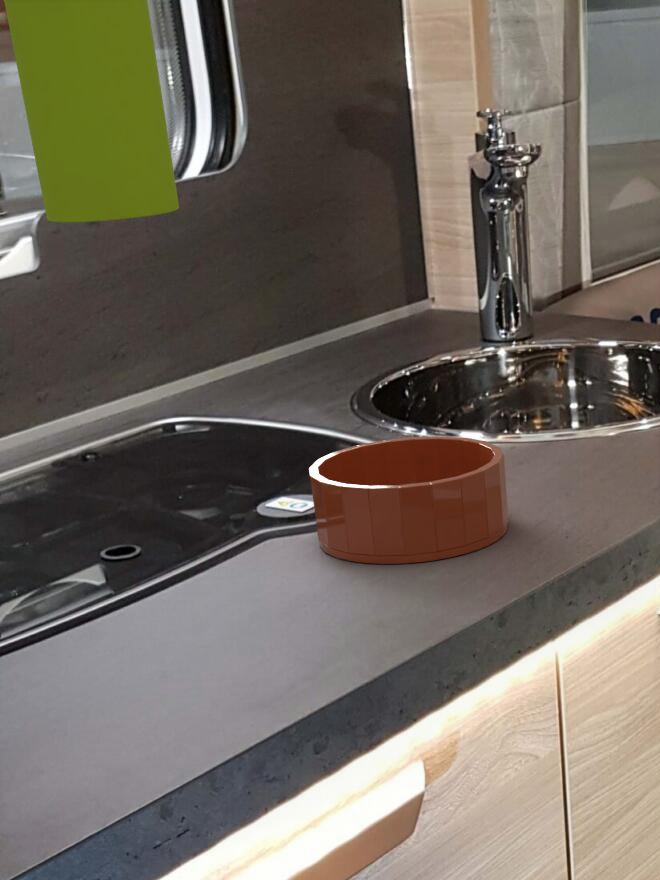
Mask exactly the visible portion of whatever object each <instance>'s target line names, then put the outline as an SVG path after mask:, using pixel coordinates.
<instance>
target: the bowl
mask: <svg viewBox="0 0 660 880" xmlns="http://www.w3.org/2000/svg"><path fill="white" fill-rule="evenodd" d="M505 465H506V464H505V455H504V453H503V451H502V448H500V446H497V445H495V444H493V443H491V442H489V441H487V440H482V439H481V440H480V439H475V438H469V437H463V436H462V437H460V436H444V435H442V436H441V435H436V436H435V435H433V436H413V437H411V436H410V437H409V436H408V437H400V438H392V439H390V438H389V439H384V440H383V439H382V440H377V441H372V442H366V443H361V444H357V445H353V446H350V447H346V448H343V449H339V450H336V451H333V452H331V453H329V454H326V455H324V456H322V457H320V458H318V459H317V460H316V461H314V462H313V463H312V465H310V466H309V468H308V473H309V479H310V487H311V494H312V502H313V510H314V516H315V524H316V532H317V537H318V538H317V539H318V545H319V547H320V549H321V550H322V551H323V552H324V553H326V554H328V555H330V556H331V557H334V558H336V559H340V560H344V561H349V562H354V563H363V564H374V565H375V564H376V565H401V564H403V565H404V564H417V563H424V562H432V561H433V562H434V561H439V560H445V559H450V558H454V557H459V556H462V555H465V554H469V553H472V552H476V551H478V550H481V549H483V548H486V547H488V546H490V545H492V544H494V543H495V542H497V541H499V540H501V538H502V537H504V536H505V534H506V533H507V530H508V527H509V526H508V520H509V512H508V509H509V508H508V495H507V481H506V466H505Z"/></svg>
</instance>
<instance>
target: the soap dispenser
mask: <svg viewBox="0 0 660 880" xmlns="http://www.w3.org/2000/svg"><path fill="white" fill-rule="evenodd" d="M3 2H4V7H5V12H6V17H7V22H8V27H9V32H10V33H9V34H10V37H11V43H12V49H13V52H14V58H15V63H16V68H17V73H18V79H19V84H20V89H21V94H22V100H23V104H24V109H25V114H26V119H27V124H28V129H29V134H30V139H31V145H32V149H33V155H34V160H35V165H36V171H37V176H38V181H39V185H40V191H41V195H42V196H41V197H42V201H43V206H44V212H45V216H46V220H47V221H49V222H53V223H86V222H87V223H90V222H91V223H92V222H105V221H115V220H127V219H135V218H136V219H137V218H143V217H144V218H145V217H151V216H157V215H162V214H163V215H164V214H168V213H171V212H175V211H178V210H179V209H180V203H179V198H178V197H179V196H178V190H177V183H176V178H175V170H174V165H173V159H172V153H171V146H170V145H171V144H170V139H169V132H168V127H167V119H166V114H165V106H164V101H163V99H164V98H163V93H162V87H161V81H160V74H159V67H158V61H157V55H156V48H155V42H154V35H153V29H152V23H151V15H150V9H149V8H150V7H149V3H148V0H3Z"/></svg>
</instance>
